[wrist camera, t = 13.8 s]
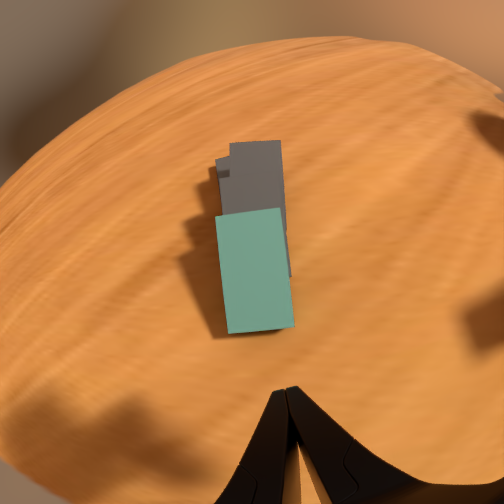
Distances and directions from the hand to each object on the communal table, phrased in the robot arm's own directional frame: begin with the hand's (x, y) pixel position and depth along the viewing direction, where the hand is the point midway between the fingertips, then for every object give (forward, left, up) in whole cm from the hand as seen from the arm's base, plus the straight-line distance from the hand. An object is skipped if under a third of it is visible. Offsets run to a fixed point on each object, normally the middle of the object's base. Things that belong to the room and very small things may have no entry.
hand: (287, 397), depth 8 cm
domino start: (+1, +6, -12) cm, 13 cm away
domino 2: (+4, +9, -12) cm, 16 cm away
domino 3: (+6, +13, -12) cm, 19 cm away
